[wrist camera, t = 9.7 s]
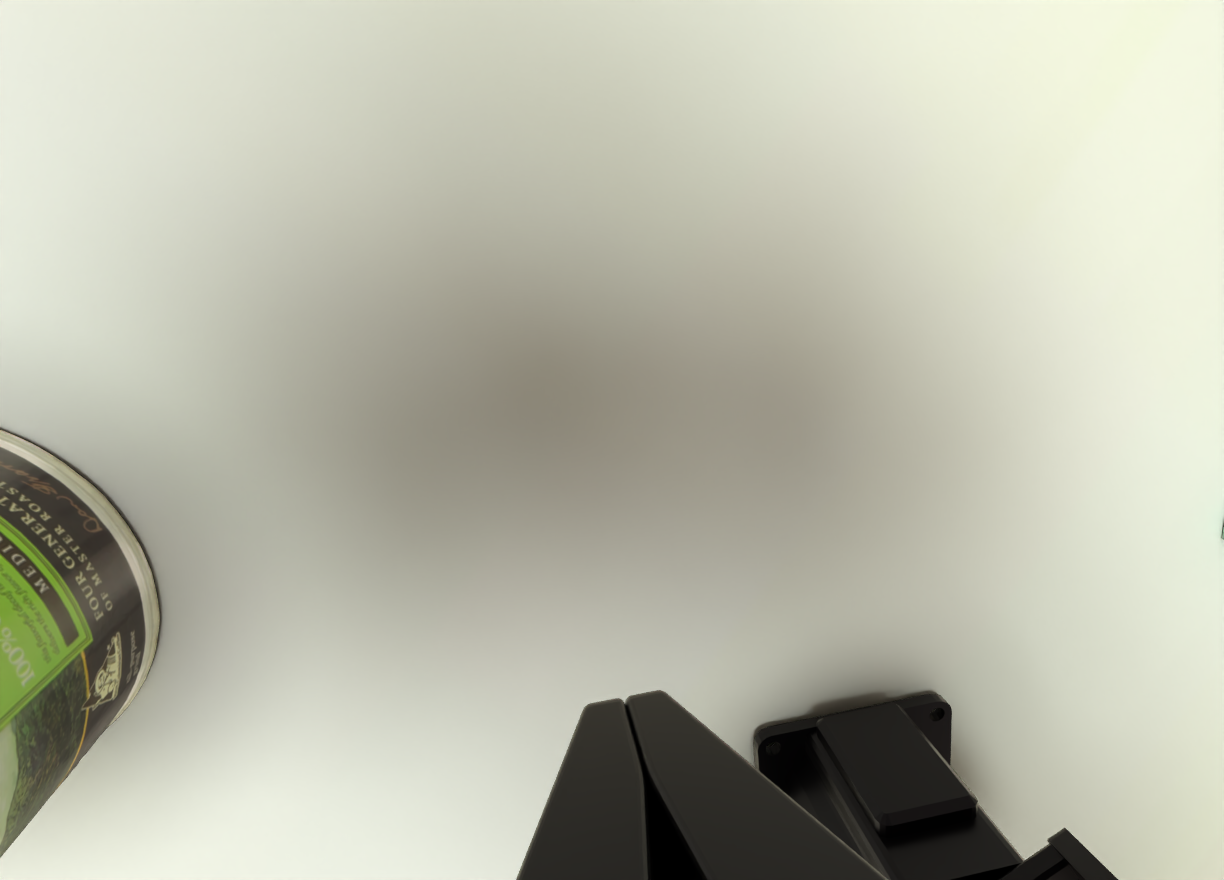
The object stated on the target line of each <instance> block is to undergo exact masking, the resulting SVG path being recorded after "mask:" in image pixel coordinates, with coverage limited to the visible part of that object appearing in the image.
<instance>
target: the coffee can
mask: <svg viewBox="0 0 1224 880" xmlns="http://www.w3.org/2000/svg"><path fill="white" fill-rule="evenodd" d="M159 624H160V613H159V605H158V599H157V593H156V588H155V584H154V580H153V576H152V572H151V569H150V567H149V565H148V562H147V560H146V557H145V555H144V553H143V550H142V548H141V546H140V545H139V543H138V541H137V539H136V538H135V536H134V534H133V533H132V531H131V529H130V528H129V526H128V525H127V523H126V522H125V521H124V519H123V518H122V517H121V515H120V514H119V513H118V512H117V510H116V509H115V508H114V507H113V506H112V504H111V503H110V502H109V501H108V500H107V499H106V498H105V496H104V495H103V494H102V493H100V492H99V491H98V490H97V489H96V488H95V487H94V486H93V485H92V484H91V483H90V482H88V481H87V480H86V479H84V478H83V477H82V476H80V475H79V474H78V473H76V472H75V471H74V470H72V469H71V468H70V467H68V466H67V465H66V464H65V463H64V462H62V461H61V460H59V459H57V458H56V457H54V456H53V455H51V454H49V453H48V452H46V451H44V450H43V449H41V448H39V447H38V446H36V445H34V444H32V443H30V442H28V441H26V440H24V439H22V438H19V437H17V436H15V435H12V434H10V433H8V432H5V431H3V430H0V857H1V856H2V855H3V854H4V853H5V851H6V850H7V849H8V848H9V846H10V845H11V844H12V843H13V842H14V840H15V839H16V838H17V837H18V836H19V834H20V833H21V832H22V831H23V829H24V828H25V827H26V826H27V825H28V823H29V822H30V821H31V820H32V819H33V817H34V816H35V815H36V814H37V812H38V811H39V810H40V809H41V807H42V806H43V805H44V804H45V802H46V801H47V800H48V799H49V797H50V796H51V795H52V794H53V793H54V792H55V790H56V789H57V788H58V787H59V786H60V784H61V783H62V782H63V781H64V780H65V779H66V778H67V777H68V775H69V774H70V772H71V771H72V770H73V769H74V768H75V767H76V766H77V764H78V763H79V761H80V759H81V758H82V757H83V756H84V755H85V754H86V753H87V751H88V750H89V749H90V748H91V747H92V745H93V744H94V743H95V742H96V740H97V739H98V738H99V736H100V735H101V734H102V733H103V732H104V731H105V729H106V728H107V727H108V726H110V725H111V724H112V723H113V722H114V721H115V720H116V719H117V718H118V717H119V716H120V715H121V714H122V713H123V712H124V711H125V709H126V708H127V707H128V706H129V704H130V703H131V702H132V700H133V699H134V697H135V696H136V694H137V693H138V691H139V690H140V688H141V686H142V685H143V683H144V681H145V679H146V677H147V674H148V672H149V669H150V667H151V664H152V661H153V658H154V655H155V651H156V646H157V640H158V633H159Z"/></svg>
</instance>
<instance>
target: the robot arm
mask: <svg viewBox="0 0 1224 880" xmlns="http://www.w3.org/2000/svg"><path fill="white" fill-rule="evenodd" d="M936 708H937V709H936ZM934 709H936V710H935V711H934V712H932V711H933V710H934ZM931 712H932V713H931ZM951 720H952V710H951V707H950V705H949V704H948V703H947V702H946V701H945V700H944V699H943V698H942V697H941V696H940V695H938V694H927V695H922V696H917V697H912V698H907V699H903V700H898V701H893V702H888V703H883V704H878V705H873V706H868V707H864V708H859V709H854V710H849V711H844V712H839V713H834V714H830V715H825V716H820V717H815V718H810V719H805V720H800V721H795V722H791V723H786V724H781V725H776V726H771V727H767V728H764V729H762V730H761V731H759V732H758V733H757V735H756V736H755V738H754V756H755V767H754V766H752V765H751V764H750V763H749V762H748V761H747V760H745V759H744V758H743V757H742V756H741V755H739V754H738V753H737V752H736V751H735V750H733V749H732V748H731V747H730V746H729V745H727V744H726V743H725V742H724V741H723V740H722V739H720V738H719V737H718V736H717V735H716V734H714V733H713V732H712V731H711V730H710V729H708V728H707V727H706V726H705V725H704V724H703V723H701V722H700V721H699V720H698V719H697V718H695V717H694V716H693V715H692V714H691V713H689V712H688V711H687V710H686V709H685V708H684V707H682V706H681V705H680V704H679V703H678V702H676V701H675V700H674V699H673V698H672V697H670V696H669V695H668V694H667V693H666V692H664V691H661V690H656V691H651V692H646V693H641V694H636V695H631V696H629V697H628V698H627V699H626V701H625V703H624V702H623V700H621V699H619V698H616V699H611V700H606V701H601V702H596V703H591V704H588V705H587V706H585V708H584V709H583V711H582V714H581V716H580V719H579V721H578V724H577V727H576V729H575V732H574V734H573V737H572V739H571V742H570V744H569V747H568V749H567V752H566V754H565V757H564V760H563V762H562V765H561V767H560V770H559V772H558V775H557V777H556V780H555V782H554V785H553V787H552V790H551V792H550V795H549V798H548V800H547V803H546V805H545V808H544V810H543V813H542V815H541V818H540V820H539V823H538V825H537V828H536V830H535V833H534V836H533V838H532V841H531V843H530V846H529V848H528V851H527V853H526V856H525V858H524V861H523V863H522V866H521V869H520V871H519V874H518V876H517V879H516V880H1118V879H1117V878H1116V877H1115V876H1114V875H1113V874H1112V873H1111V872H1110V871H1109V870H1108V869H1107V868H1106V867H1105V866H1104V865H1103V864H1102V863H1100V862H1099V861H1098V860H1097V859H1096V858H1095V857H1094V856H1093V855H1092V854H1091V853H1090V852H1089V851H1088V850H1087V849H1086V848H1085V847H1084V846H1083V845H1082V844H1081V843H1080V842H1079V841H1078V840H1077V839H1076V838H1075V837H1074V836H1073V835H1072V834H1071V833H1070V832H1069V831H1068V830H1067V829H1066V828H1064V829H1062V830H1061V831H1059V832H1058V833H1056V834H1055V835H1053V836H1052V837H1050V838H1049V839H1047V841H1048V842H1049V843H1050V844H1048V845H1047V846H1045V847H1044V848H1042V849H1041V850H1039V851H1038V852H1036V853H1035V854H1034V855H1032V856H1031V857H1029V858H1028V859H1026V860H1024V859H1023V858H1022V857H1021V856H1020V854H1019V853H1018V852H1017V851H1016V850H1015V848H1014V847H1013V846H1012V845H1011V843H1010V842H1009V841H1008V840H1007V839H1006V837H1005V836H1004V835H1003V834H1002V832H1001V831H1000V830H999V829H998V828H997V826H996V825H995V824H994V823H993V822H992V820H991V819H990V818H989V817H988V815H987V814H986V813H985V812H984V811H983V809H982V808H981V807H980V806H979V805H978V801H977V799H976V797H975V795H974V794H973V793H972V792H971V791H970V789H969V788H968V787H967V786H966V785H965V783H964V782H963V781H962V780H961V779H960V777H959V776H958V775H957V774H956V773H955V771H954V770H953V769H952V768H951V766H950V757H951ZM772 742H775V743H774V744H773V745H772V746H770V747H766V746H767V745H768V744H769V743H772Z"/></svg>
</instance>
